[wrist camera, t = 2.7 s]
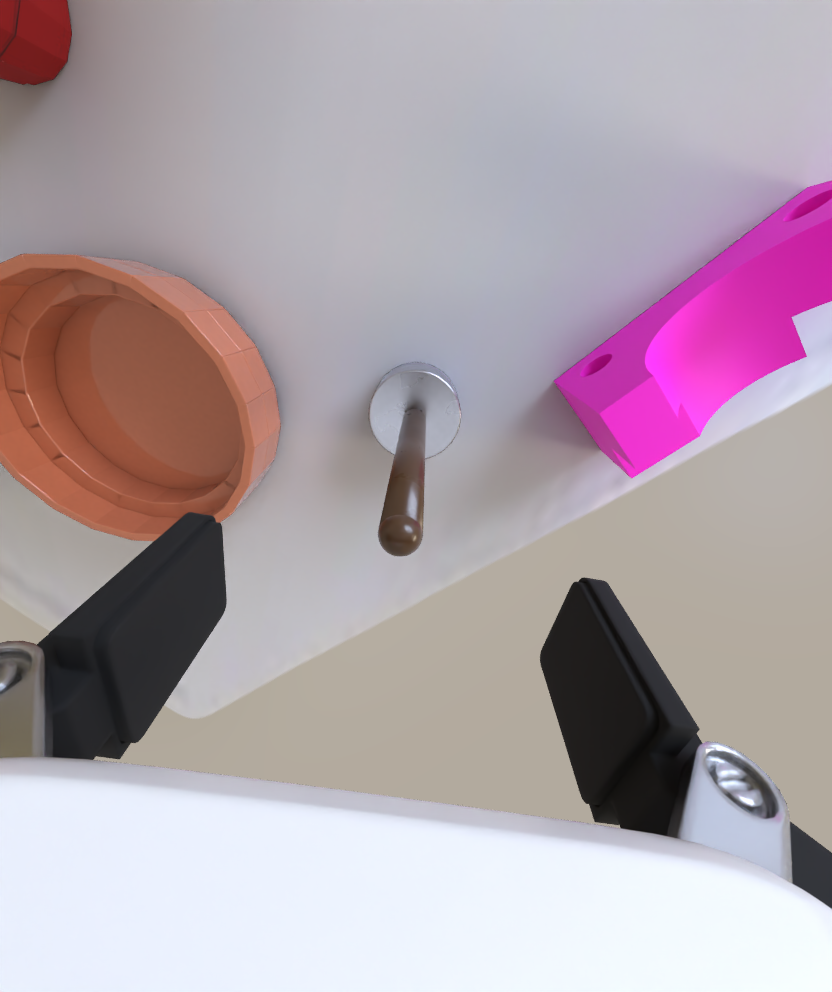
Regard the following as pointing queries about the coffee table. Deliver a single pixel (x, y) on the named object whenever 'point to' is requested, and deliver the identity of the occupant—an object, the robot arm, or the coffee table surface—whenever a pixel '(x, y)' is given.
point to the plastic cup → (33, 39)
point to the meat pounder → (411, 444)
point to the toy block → (706, 337)
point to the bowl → (128, 394)
